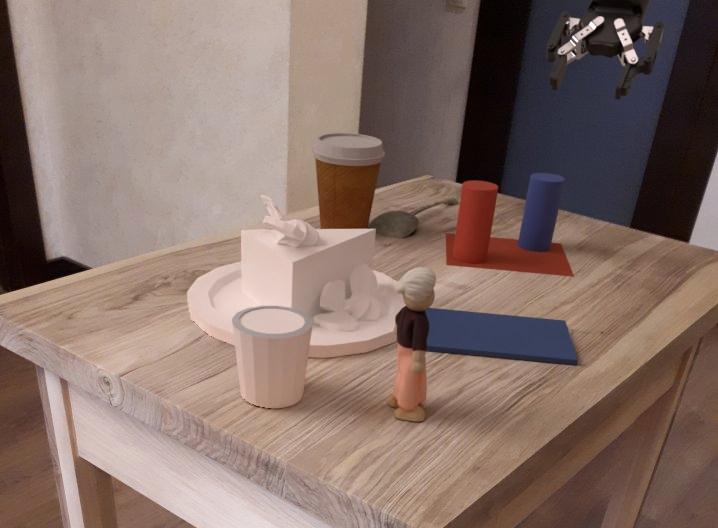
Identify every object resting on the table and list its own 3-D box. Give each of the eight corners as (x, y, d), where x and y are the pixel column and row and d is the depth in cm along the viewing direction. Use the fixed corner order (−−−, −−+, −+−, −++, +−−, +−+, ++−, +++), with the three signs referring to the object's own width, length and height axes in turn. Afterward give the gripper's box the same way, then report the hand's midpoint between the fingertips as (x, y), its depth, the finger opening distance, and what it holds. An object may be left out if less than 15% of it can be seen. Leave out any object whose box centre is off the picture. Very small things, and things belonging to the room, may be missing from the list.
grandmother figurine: (443, 424, 69) (465, 282, 61) (403, 430, 67) (420, 286, 60) (405, 384, 74) (421, 249, 67) (368, 389, 73) (379, 252, 66)
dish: (258, 378, 73) (257, 258, 67) (152, 286, 90) (143, 182, 83) (460, 330, 85) (477, 223, 79) (334, 256, 102) (339, 163, 95)
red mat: (560, 247, 110) (561, 243, 110) (573, 281, 100) (574, 276, 99) (444, 237, 111) (445, 232, 110) (445, 269, 100) (446, 264, 100)
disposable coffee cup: (347, 219, 115) (353, 129, 108) (392, 237, 109) (401, 144, 102) (295, 229, 110) (297, 135, 102) (338, 249, 104) (344, 151, 97)
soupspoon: (358, 238, 110) (399, 252, 107) (361, 214, 108) (402, 227, 105) (435, 200, 125) (472, 211, 122) (438, 178, 122) (476, 189, 120)
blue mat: (564, 325, 88) (565, 320, 88) (577, 365, 80) (578, 359, 79) (420, 311, 89) (420, 306, 88) (418, 350, 81) (419, 344, 80)
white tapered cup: (224, 380, 73) (222, 307, 69) (296, 371, 75) (298, 301, 71) (244, 416, 68) (243, 340, 64) (320, 406, 70) (323, 332, 66)
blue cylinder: (548, 242, 109) (562, 174, 104) (552, 253, 106) (567, 183, 101) (516, 239, 110) (529, 171, 104) (519, 250, 106) (532, 179, 101)
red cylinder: (485, 253, 104) (497, 182, 99) (487, 264, 101) (499, 191, 95) (452, 250, 104) (462, 178, 99) (452, 261, 101) (463, 188, 96)
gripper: (574, -42, 106) (532, 63, 105) (684, -33, 101) (642, 77, 100) (574, 3, 113) (535, 102, 112) (677, 13, 108) (638, 117, 107)
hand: (585, 90), depth 106 cm, fingers open, 8 cm apart
